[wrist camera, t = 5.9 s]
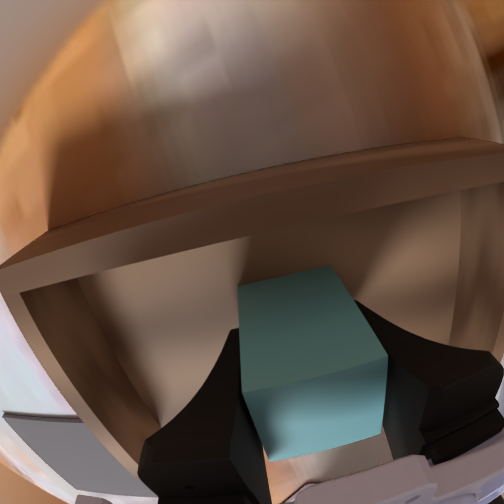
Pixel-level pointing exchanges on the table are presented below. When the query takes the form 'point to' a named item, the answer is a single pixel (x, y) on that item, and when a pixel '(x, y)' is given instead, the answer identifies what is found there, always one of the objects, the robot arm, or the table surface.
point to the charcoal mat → (77, 455)
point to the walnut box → (257, 271)
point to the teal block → (309, 364)
